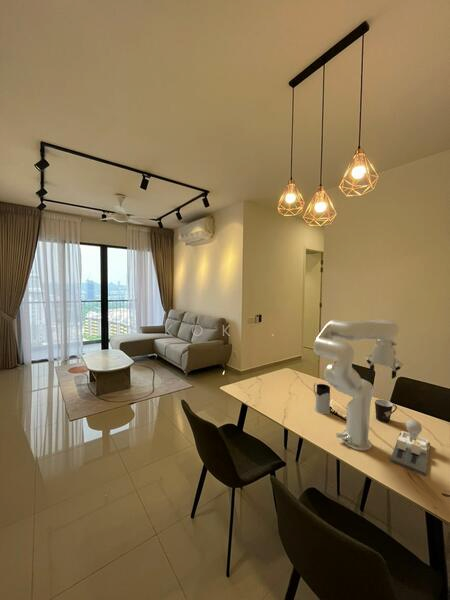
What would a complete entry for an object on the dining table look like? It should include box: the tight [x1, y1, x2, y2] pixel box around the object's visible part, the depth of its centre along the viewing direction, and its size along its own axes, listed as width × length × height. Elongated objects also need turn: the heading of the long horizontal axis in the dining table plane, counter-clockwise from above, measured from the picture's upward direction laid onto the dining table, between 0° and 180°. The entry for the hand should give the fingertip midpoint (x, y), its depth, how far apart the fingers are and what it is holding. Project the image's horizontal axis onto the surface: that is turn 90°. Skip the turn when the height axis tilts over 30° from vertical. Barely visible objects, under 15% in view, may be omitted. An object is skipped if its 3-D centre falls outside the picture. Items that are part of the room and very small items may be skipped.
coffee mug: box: [374, 398, 398, 424], centre depth 141 cm, size 12×9×10 cm
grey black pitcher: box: [313, 382, 331, 415], centre depth 154 cm, size 9×14×15 cm, turn 12°
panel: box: [389, 432, 431, 477], centre depth 114 cm, size 26×12×1 cm, turn 138°
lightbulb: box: [405, 419, 423, 442], centre depth 120 cm, size 6×6×11 cm
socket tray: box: [400, 430, 429, 453], centre depth 120 cm, size 10×10×2 cm
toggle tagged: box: [411, 440, 421, 455], centre depth 113 cm, size 4×3×4 cm
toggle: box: [397, 435, 407, 451], centre depth 116 cm, size 4×3×4 cm
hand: (382, 375), depth 132 cm, fingers open, 9 cm apart
